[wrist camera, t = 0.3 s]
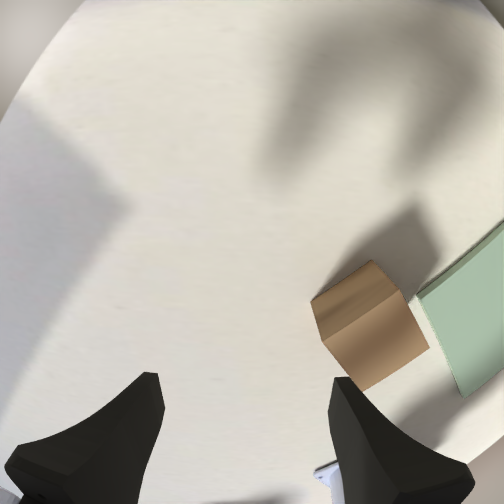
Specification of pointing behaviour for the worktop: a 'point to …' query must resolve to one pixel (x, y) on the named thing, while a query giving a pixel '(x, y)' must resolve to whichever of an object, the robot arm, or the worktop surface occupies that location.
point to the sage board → (470, 313)
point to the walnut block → (368, 326)
